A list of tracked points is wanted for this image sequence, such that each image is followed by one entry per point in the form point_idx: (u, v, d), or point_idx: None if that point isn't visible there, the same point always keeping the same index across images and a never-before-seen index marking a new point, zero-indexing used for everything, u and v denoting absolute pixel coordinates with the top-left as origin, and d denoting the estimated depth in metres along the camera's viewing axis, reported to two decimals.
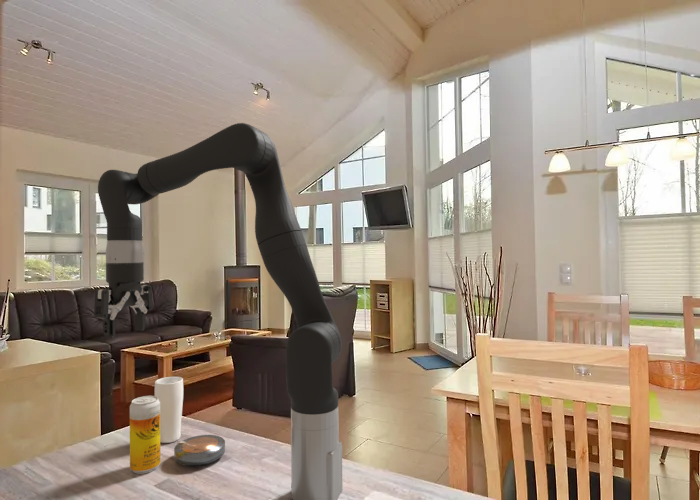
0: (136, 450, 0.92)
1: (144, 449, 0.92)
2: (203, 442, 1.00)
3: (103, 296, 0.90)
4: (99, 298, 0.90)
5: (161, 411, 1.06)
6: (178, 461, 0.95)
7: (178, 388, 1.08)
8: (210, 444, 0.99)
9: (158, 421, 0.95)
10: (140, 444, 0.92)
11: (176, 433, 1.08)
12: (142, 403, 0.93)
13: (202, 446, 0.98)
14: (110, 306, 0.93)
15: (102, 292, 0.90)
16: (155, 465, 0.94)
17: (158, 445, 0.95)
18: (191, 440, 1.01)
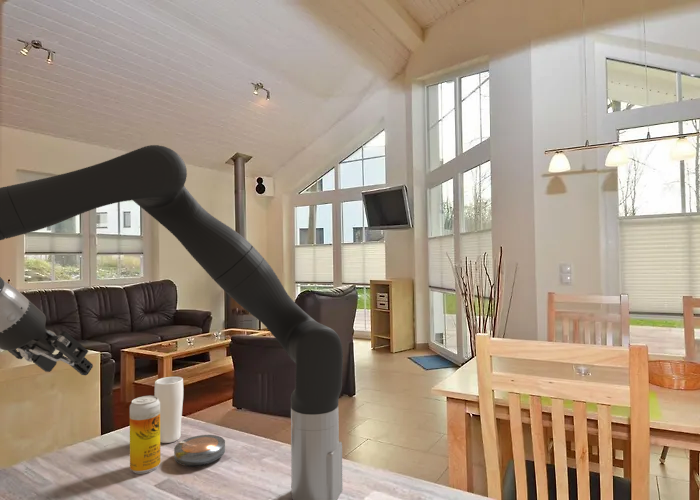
0: (136, 450, 0.92)
1: (144, 449, 0.92)
2: (203, 442, 1.00)
3: (70, 337, 0.70)
4: (67, 344, 0.70)
5: (161, 411, 1.06)
6: (178, 461, 0.95)
7: (178, 388, 1.08)
8: (210, 444, 0.99)
9: (158, 421, 0.95)
10: (140, 444, 0.92)
11: (176, 433, 1.08)
12: (142, 403, 0.93)
13: (202, 446, 0.98)
14: None
15: (65, 336, 0.70)
16: (155, 465, 0.94)
17: (158, 445, 0.95)
18: (191, 440, 1.01)
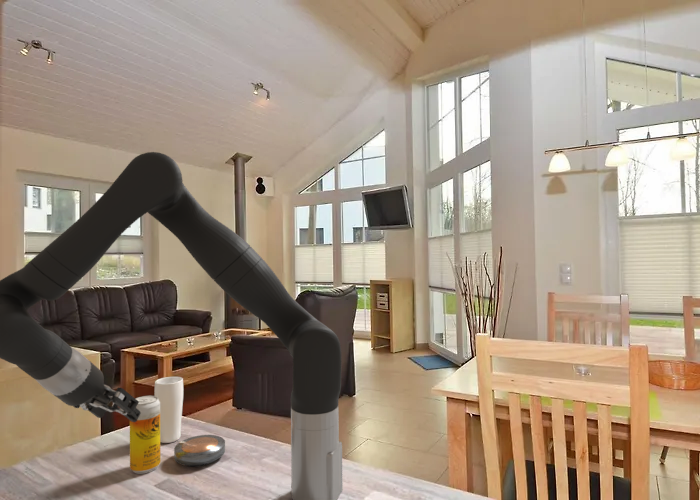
0: (136, 450, 0.92)
1: (144, 449, 0.92)
2: (203, 442, 1.00)
3: (125, 392, 0.81)
4: (123, 398, 0.81)
5: (161, 411, 1.06)
6: (178, 461, 0.95)
7: (178, 388, 1.08)
8: (210, 444, 0.99)
9: (158, 421, 0.95)
10: (140, 444, 0.92)
11: (176, 433, 1.08)
12: (142, 403, 0.93)
13: (202, 446, 0.98)
14: None
15: (121, 391, 0.80)
16: (155, 465, 0.94)
17: (158, 445, 0.95)
18: (191, 440, 1.01)
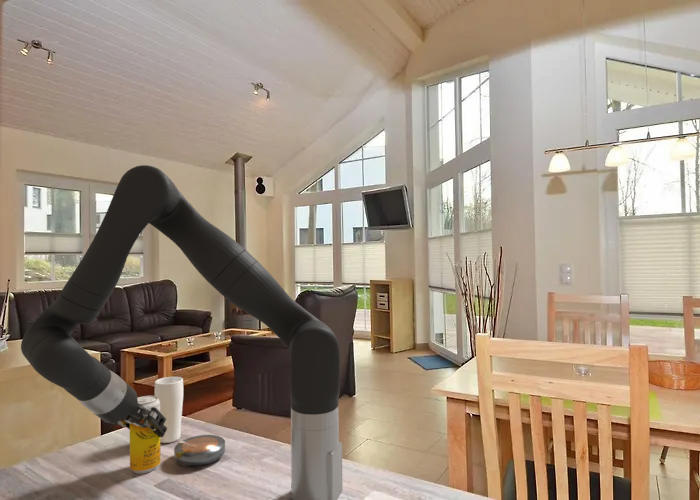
0: (136, 449, 0.92)
1: (144, 448, 0.92)
2: (203, 442, 1.00)
3: (158, 411, 0.90)
4: (156, 417, 0.89)
5: (161, 411, 1.06)
6: (178, 461, 0.95)
7: (178, 388, 1.08)
8: (210, 444, 0.99)
9: None
10: (140, 443, 0.92)
11: (176, 433, 1.08)
12: (142, 403, 0.93)
13: (202, 446, 0.98)
14: None
15: (155, 411, 0.89)
16: (155, 465, 0.94)
17: (158, 445, 0.95)
18: (191, 440, 1.01)
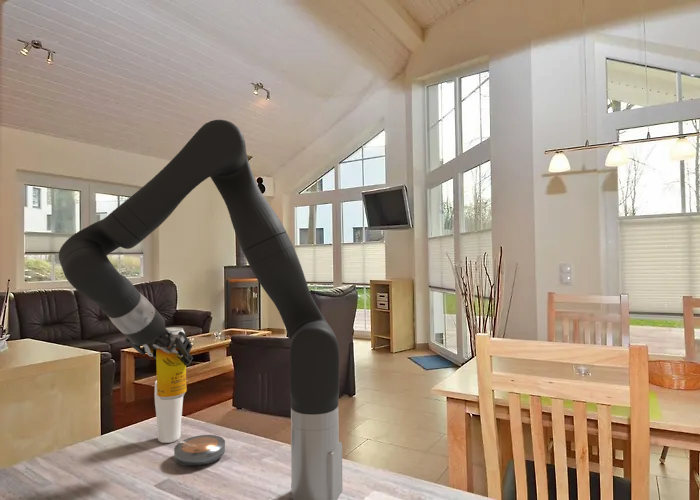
0: (164, 376, 0.94)
1: (171, 375, 0.94)
2: (203, 442, 1.00)
3: (185, 336, 0.91)
4: (183, 341, 0.91)
5: (161, 411, 1.06)
6: (178, 461, 0.95)
7: None
8: (210, 444, 0.99)
9: None
10: (167, 370, 0.94)
11: (176, 433, 1.08)
12: None
13: (202, 446, 0.98)
14: (174, 346, 0.93)
15: (183, 335, 0.91)
16: (182, 392, 0.95)
17: (184, 373, 0.96)
18: (191, 440, 1.01)
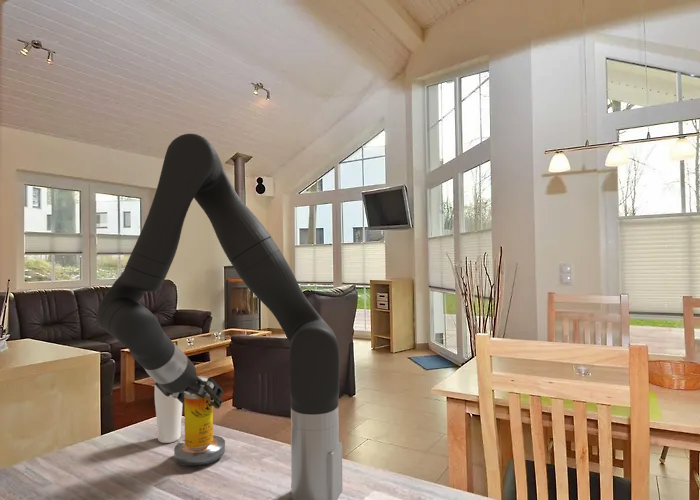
0: (192, 427, 0.96)
1: (199, 426, 0.96)
2: None
3: (214, 382, 0.93)
4: (213, 387, 0.93)
5: (161, 411, 1.06)
6: (178, 461, 0.95)
7: None
8: (210, 444, 0.99)
9: None
10: (195, 421, 0.96)
11: (176, 433, 1.08)
12: None
13: None
14: (205, 391, 0.95)
15: (212, 381, 0.92)
16: (209, 442, 0.98)
17: (211, 423, 0.99)
18: None
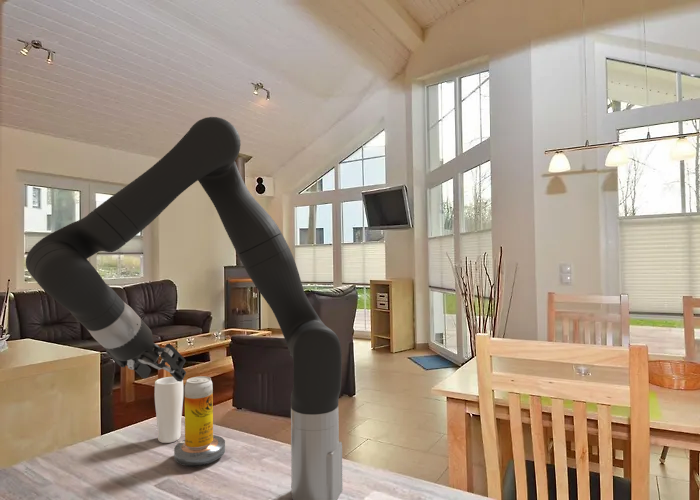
0: (192, 427, 0.96)
1: (199, 426, 0.96)
2: None
3: (174, 349, 0.81)
4: (172, 355, 0.81)
5: (161, 411, 1.06)
6: (178, 461, 0.95)
7: (178, 388, 1.08)
8: (210, 444, 0.99)
9: (211, 400, 0.99)
10: (195, 421, 0.96)
11: (176, 433, 1.08)
12: (197, 382, 0.97)
13: None
14: (164, 360, 0.83)
15: (170, 348, 0.80)
16: (209, 442, 0.98)
17: (211, 423, 0.99)
18: None
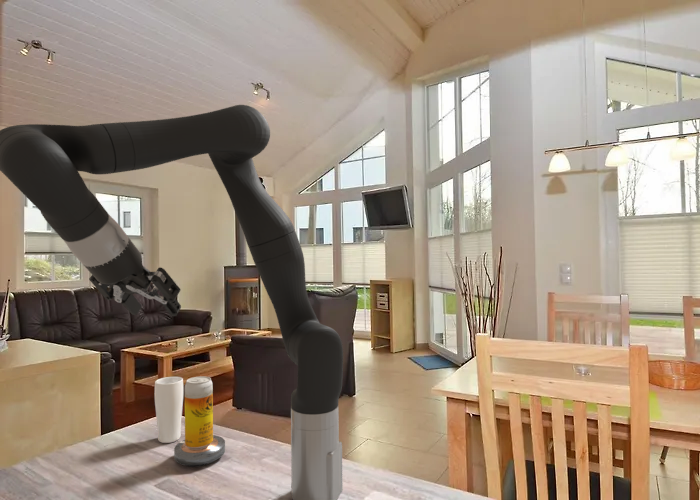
0: (192, 427, 0.96)
1: (199, 426, 0.96)
2: None
3: (166, 274, 0.71)
4: (164, 280, 0.70)
5: (161, 411, 1.06)
6: (178, 461, 0.95)
7: (178, 388, 1.08)
8: (210, 444, 0.99)
9: (211, 400, 0.99)
10: (195, 421, 0.96)
11: (176, 433, 1.08)
12: (197, 382, 0.97)
13: None
14: (155, 289, 0.72)
15: (163, 272, 0.70)
16: (209, 442, 0.98)
17: (211, 423, 0.99)
18: None
